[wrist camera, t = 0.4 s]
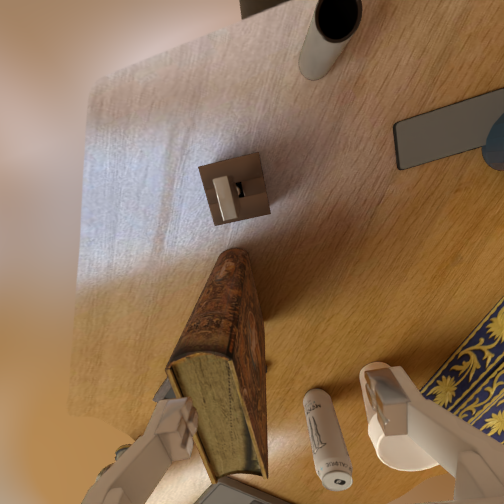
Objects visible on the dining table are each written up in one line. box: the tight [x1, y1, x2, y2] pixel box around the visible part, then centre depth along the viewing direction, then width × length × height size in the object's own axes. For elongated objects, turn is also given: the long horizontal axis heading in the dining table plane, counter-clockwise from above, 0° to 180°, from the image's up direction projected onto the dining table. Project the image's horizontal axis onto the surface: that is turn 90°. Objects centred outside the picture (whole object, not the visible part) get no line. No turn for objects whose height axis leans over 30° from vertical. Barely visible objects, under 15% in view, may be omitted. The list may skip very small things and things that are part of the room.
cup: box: [359, 362, 439, 471], centre depth 43 cm, size 12×12×14 cm
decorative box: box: [420, 296, 504, 445], centre depth 43 cm, size 11×30×9 cm, turn 157°
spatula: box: [213, 175, 243, 221], centre depth 30 cm, size 4×1×17 cm, turn 13°
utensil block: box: [198, 152, 271, 226], centre depth 35 cm, size 8×8×7 cm
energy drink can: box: [303, 389, 353, 491], centre depth 45 cm, size 6×6×15 cm
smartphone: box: [393, 88, 504, 170], centre depth 34 cm, size 7×1×15 cm
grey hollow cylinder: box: [299, 0, 362, 80], centre depth 27 cm, size 4×4×10 cm
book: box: [165, 248, 268, 484], centre depth 32 cm, size 16×6×25 cm, turn 12°
